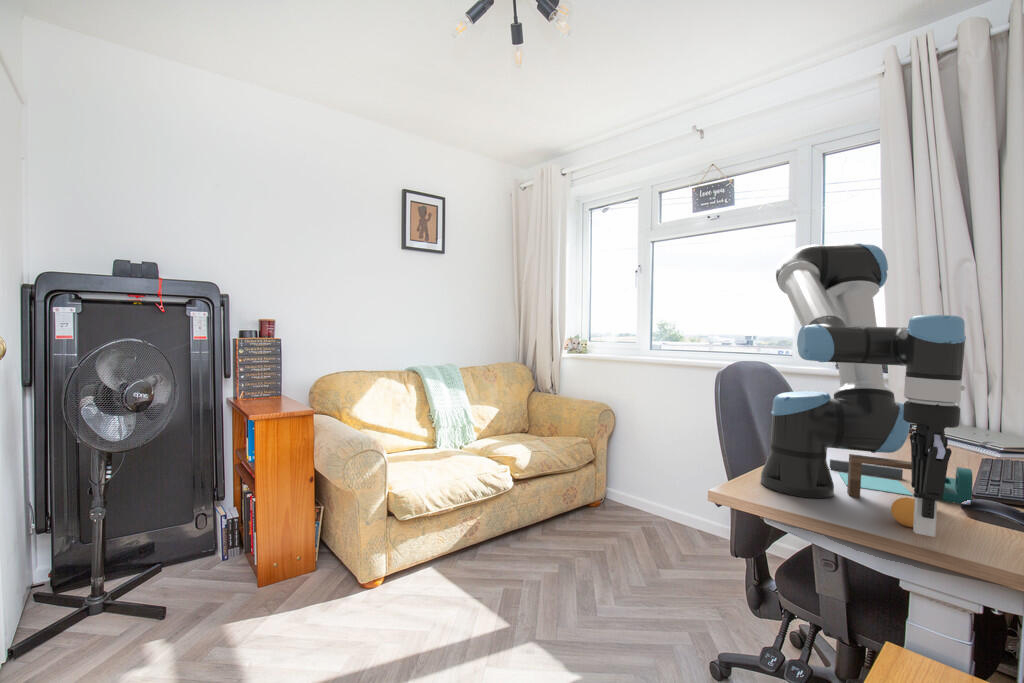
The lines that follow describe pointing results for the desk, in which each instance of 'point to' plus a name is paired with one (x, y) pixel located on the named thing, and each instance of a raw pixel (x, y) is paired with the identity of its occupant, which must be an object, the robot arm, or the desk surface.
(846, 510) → the desk surface
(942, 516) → the desk surface
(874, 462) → the bridge
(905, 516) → the ball
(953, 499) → the bracket
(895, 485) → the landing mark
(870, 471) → the wall
